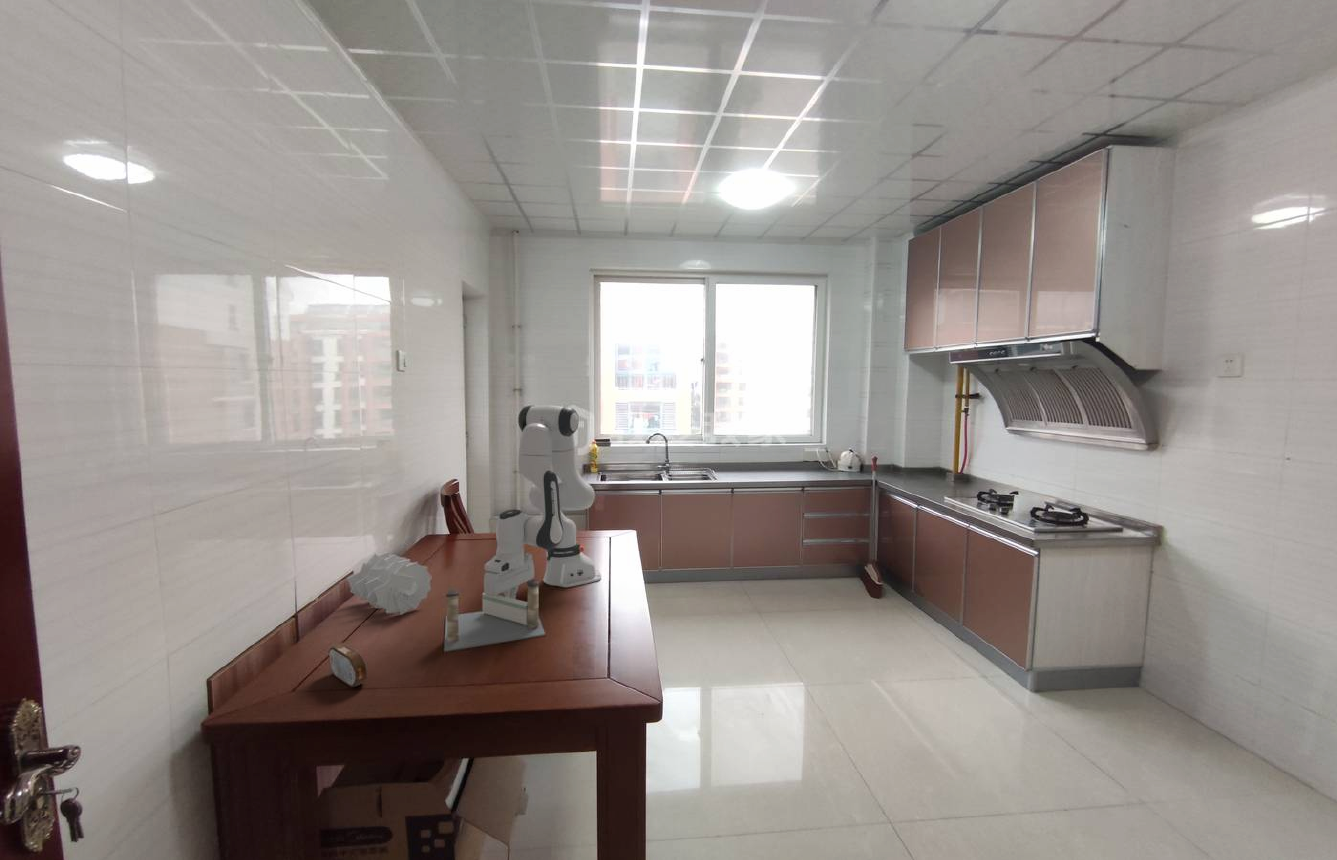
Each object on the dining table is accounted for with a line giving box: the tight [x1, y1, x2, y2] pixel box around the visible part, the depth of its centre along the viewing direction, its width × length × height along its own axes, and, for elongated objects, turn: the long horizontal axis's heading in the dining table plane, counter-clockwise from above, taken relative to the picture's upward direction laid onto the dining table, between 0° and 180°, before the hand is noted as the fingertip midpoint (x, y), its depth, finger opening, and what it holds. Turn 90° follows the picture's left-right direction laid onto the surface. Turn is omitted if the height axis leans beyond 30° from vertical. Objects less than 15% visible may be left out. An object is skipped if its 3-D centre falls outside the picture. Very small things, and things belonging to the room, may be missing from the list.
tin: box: [328, 642, 368, 688], centre depth 128 cm, size 15×3×8 cm, turn 56°
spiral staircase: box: [346, 551, 433, 616], centre depth 173 cm, size 18×18×25 cm
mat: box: [443, 610, 546, 653], centre depth 160 cm, size 28×24×1 cm
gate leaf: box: [481, 592, 528, 625], centre depth 164 cm, size 19×2×6 cm, turn 63°
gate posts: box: [445, 579, 540, 643], centre depth 154 cm, size 26×4×15 cm, turn 113°
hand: (510, 600), depth 170 cm, fingers closed
